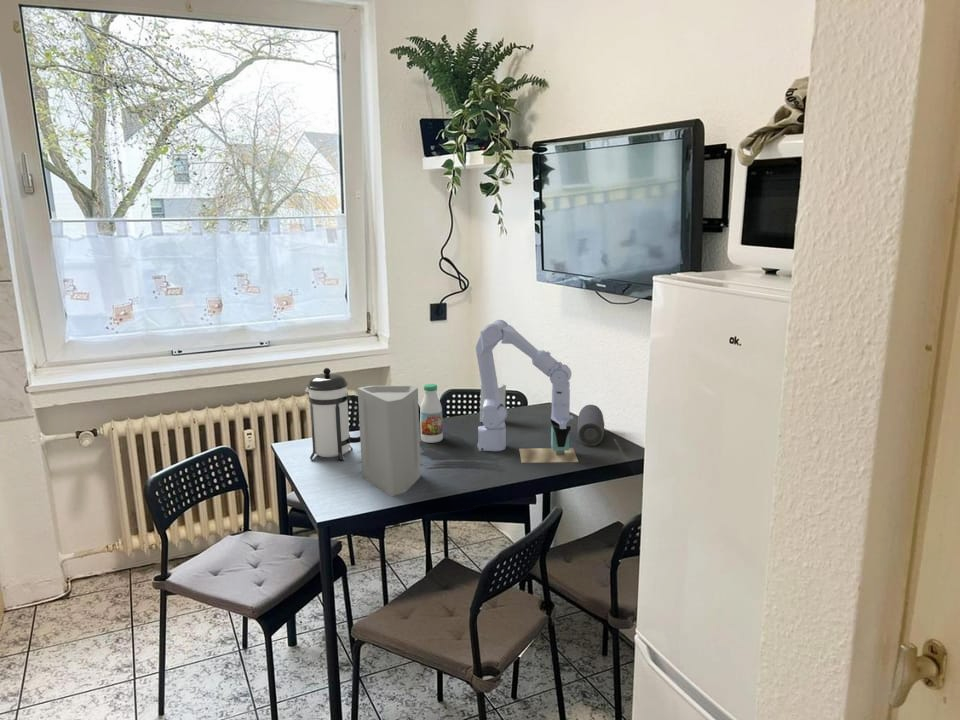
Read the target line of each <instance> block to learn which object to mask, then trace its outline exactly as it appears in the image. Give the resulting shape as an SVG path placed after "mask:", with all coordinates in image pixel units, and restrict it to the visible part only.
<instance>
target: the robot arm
mask: <svg viewBox="0 0 960 720" xmlns="http://www.w3.org/2000/svg"><path fill="white" fill-rule="evenodd" d="M498 343H501V344H503V345H506V344H507V345H508V344H509V345H512V346H513V347H516V348H517V349H519V351H521V352H522V353H523V354H525V355H526V356H527V357H529V358H530V359H531V361H532V365H533V366H534V367H536V368H537V369H538V370H540V372H541V373H543V374H544V375H545V376H547V377H548V378H549V381H550V383H551V385H552V387H551V388H552V389H551V415H550V419H549V420H550V424H552V425H551V426H553V429H554V431H555V434H556V439H557V445H558V447H565V443H566V439H567V435H568V433H569V434H570V431H571V430H572V427H571V425H567V424H568V423H569V421H570V420H573V419H574V416H573V415H570V410H571V409H570V403H571V402H570V401H571V400H570V399H571V398H570V397H571V396H570V395H571V394H570V393H571V390H570V389H571V388H570V380H571V377H572V370H571V368H570V367H569V365H566V364H564V363H563V362H561V361H558V360H557V359H555V358H554V357H553V356H552V355H551V354H552V353H551V352H550V351H546V350H543V349H542V350H541V349H540V350H539V349H538V348H536V347H535V346H534V345H533V344H532V343H530V342H529V340H527V339H526V337H524V336H523V335H521V333H519V332H518V331H517V329H515V328H514V327H513V326H512V325H510V324H508V322H507V321H505V320H503V319H496V320H494V321H493V322H492V323H489V324H487V325H486V326H484V328H483V329H482V330H480V335H479V338H478V341H477V343H476V346H475V352H476V353H475V354H476V359H477V363H478V370H479V376H480V381H481V385H482V389H483V395H484V404H483V415H482V422H483V423H482V424H483V425H480V426H478V427H477V429H478V430H477V431H478V433H477V434H478V436H477V437H478V442H477V449H478V451H479V452H480V451H482V452H501V451H503V450H505V449H506V446H507V443H506V441H507V440H506V438H507V437H506V436H507V435H506V432H507V431H506V429H507V428H506V425H507V424H506V423H505V422H506V421H504V420H506V419H507V417H508V409H507V407H506V405H505V406H504V404H503V400H502V398H501V397H500V395H499V389H498V384H499V382H498V379H497V378H498V377H497V371H496V366H495V360H494V355H493V350H494V349H495V347H496V346H497V345H498Z"/></svg>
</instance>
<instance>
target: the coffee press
mask: <svg viewBox="0 0 960 720" xmlns="http://www.w3.org/2000/svg"><path fill="white" fill-rule="evenodd" d="M322 372H323V373H322V374H318V375H316V376H313V377H312V378H311V379H310V380H309V382H308V383H307V387H306V388H305V390H304V392H305V393H308V394H309V395H308V402H309V407H310V408H309V411H310V424H311V438H312V442H311V443H312V453H311V455H310V457H309V459H310V460H311V461H312V462H315V461H316V460H317V459H318V458H319V457H323V458H334V457H336V458H337V460H338V462H339V463H340V462H345V457H344V455H345V454H346V453H348V452H349V453H351V452H353V447H352V446H351V444H357V443H360V436H357V437H354V436H353V437H351V435H350V427H349V426H350V425H349V422H350V421H349V407H348V405H349V404H348V401H352V402H356V403H357V404H358V405H359V403H358V395H355V394H352V395H349V393H348V384H349V383H348V381H347V380H346V378H345V377H344V376H343V375H341V374H337V373H331V370H330V368H328V367H325V368H323V371H322Z"/></svg>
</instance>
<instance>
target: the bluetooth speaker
mask: <svg viewBox="0 0 960 720" xmlns="http://www.w3.org/2000/svg"><path fill="white" fill-rule="evenodd" d="M603 414H604V413H603V412H602V410H601V409H600V408H599V406H597V405H595V404H586V405H584V406H583V407H582V408H581V409H580V412H579V413H578V417H577V425H576V426H577V428H576V429H577V436H578V439H579V441H580V443H582V444H583V445H584V446H592V447H593V446H594V447H595V446H598V445H599V444H600V443H601V442H602V440H603V438H604V434H605V419H604V415H603Z"/></svg>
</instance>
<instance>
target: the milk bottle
mask: <svg viewBox="0 0 960 720" xmlns="http://www.w3.org/2000/svg"><path fill="white" fill-rule="evenodd" d="M423 392H424V395H423V399H422V401H421V404H420V407H419V408H420V409H419V411H420V413H419V423H420V439H421V441H422V442H424V443H427V444H428V443H430V444H435V443H439V442H441V441H443V438H444V432H443V429H444V428H443V427H444V425H443V407H442V404H441V402H440V399H439V397H438V385H437V384H436V383H427V384H424V386H423Z"/></svg>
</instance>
